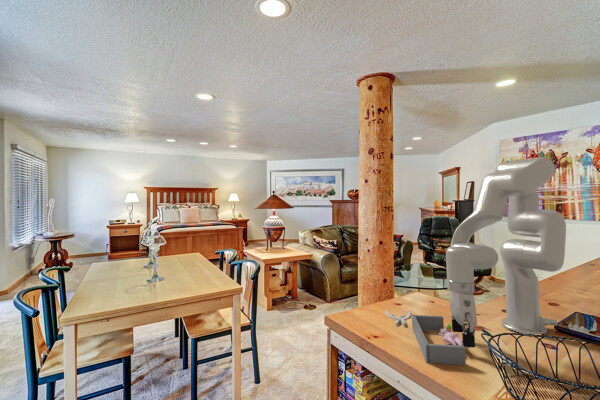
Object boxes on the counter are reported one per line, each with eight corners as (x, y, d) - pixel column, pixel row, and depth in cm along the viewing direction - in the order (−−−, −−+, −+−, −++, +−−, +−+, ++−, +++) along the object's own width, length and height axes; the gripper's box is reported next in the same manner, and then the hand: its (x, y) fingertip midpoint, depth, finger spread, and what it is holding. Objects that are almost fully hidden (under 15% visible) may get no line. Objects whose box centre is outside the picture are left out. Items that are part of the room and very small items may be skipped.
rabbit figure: (435, 336, 99) (447, 351, 85) (433, 318, 100) (445, 330, 86) (454, 337, 98) (470, 353, 84) (452, 319, 99) (468, 332, 85)
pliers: (409, 308, 119) (414, 324, 104) (409, 312, 119) (414, 328, 104) (385, 307, 121) (386, 322, 107) (385, 311, 121) (387, 326, 107)
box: (443, 329, 101) (442, 316, 101) (465, 365, 80) (465, 347, 80) (412, 328, 103) (411, 314, 103) (426, 362, 82) (425, 345, 82)
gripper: (485, 295, 81) (488, 354, 81) (463, 278, 98) (465, 327, 97) (457, 294, 82) (459, 352, 82) (440, 278, 99) (442, 326, 99)
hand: (462, 338), depth 90 cm, fingers open, 9 cm apart
